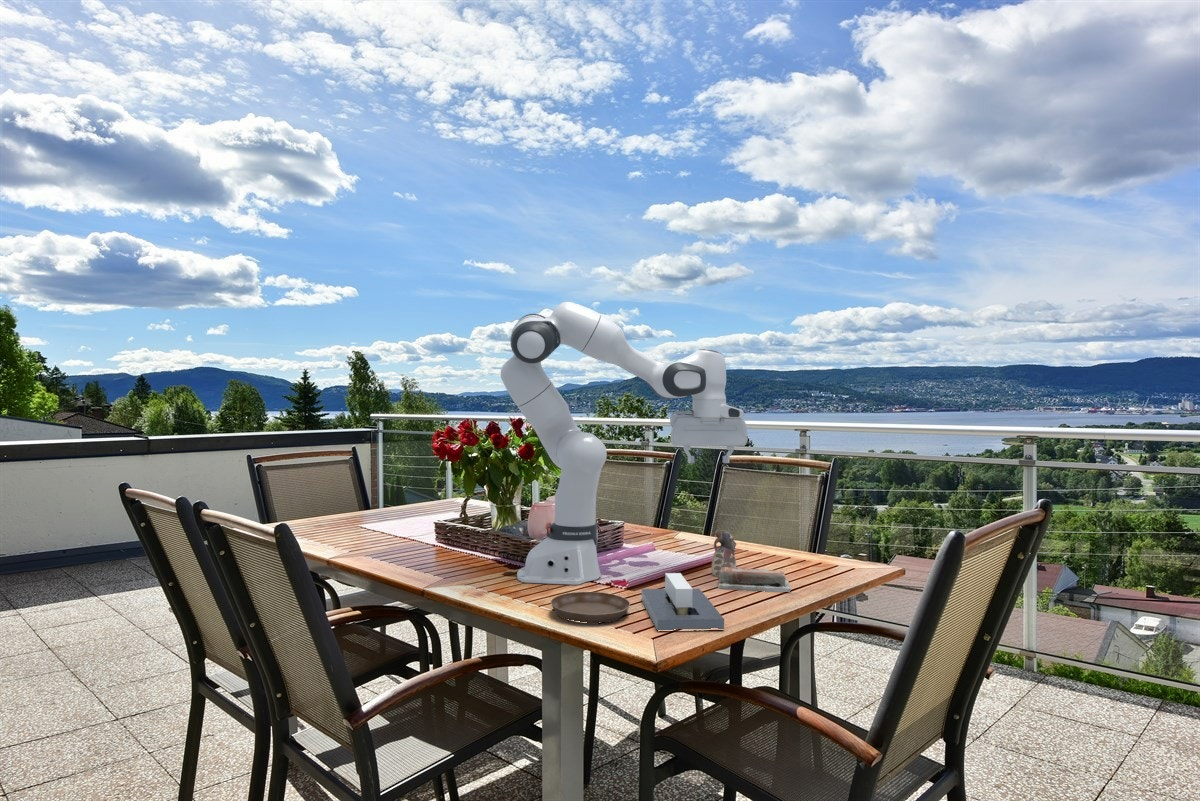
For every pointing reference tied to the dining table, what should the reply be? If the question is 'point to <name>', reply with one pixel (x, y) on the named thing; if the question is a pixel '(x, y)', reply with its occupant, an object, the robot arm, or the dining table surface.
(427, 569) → the dining table surface
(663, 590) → the keyhole plate
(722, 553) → the figurine
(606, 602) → the plant saucer
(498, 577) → the dining table surface
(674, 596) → the white pronged plug block
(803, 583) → the dining table surface
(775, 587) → the packaged product
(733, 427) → the robot arm
